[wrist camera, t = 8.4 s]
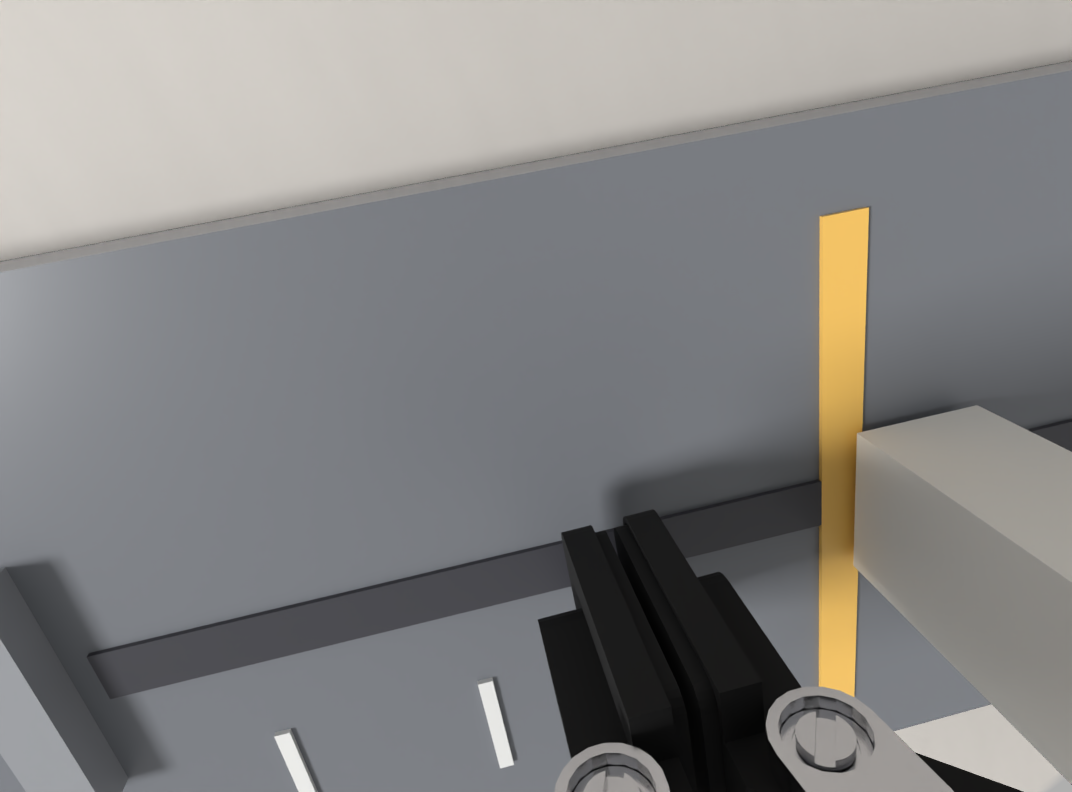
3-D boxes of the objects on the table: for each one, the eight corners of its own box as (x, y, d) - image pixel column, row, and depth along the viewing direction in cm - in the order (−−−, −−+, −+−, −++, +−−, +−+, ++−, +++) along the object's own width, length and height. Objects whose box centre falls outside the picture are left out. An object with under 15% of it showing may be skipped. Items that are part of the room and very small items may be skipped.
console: (-253, 308, 11) (-466, 366, 8) (1372, 4, 13) (1601, -26, 11) (108, 864, 16) (49, 1003, 14) (1211, 571, 19) (1337, 642, 16)
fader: (856, 433, 12) (1128, 621, 8) (976, 404, 12) (1313, 572, 8) (853, 565, 13) (1086, 799, 9) (963, 538, 14) (1249, 752, 9)
